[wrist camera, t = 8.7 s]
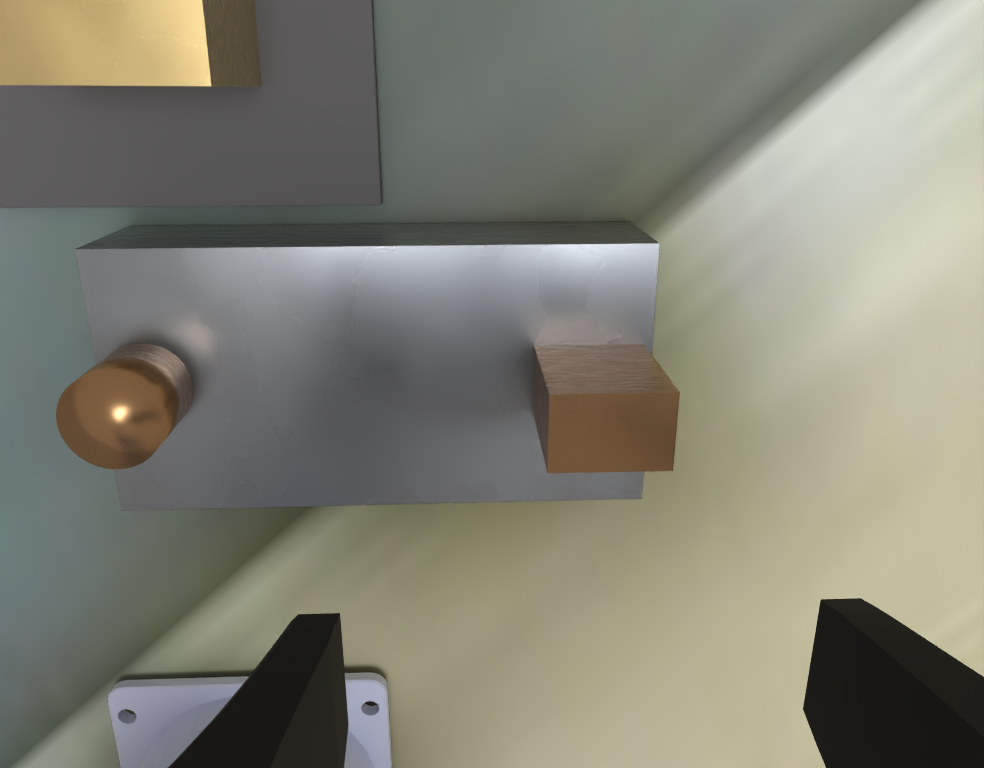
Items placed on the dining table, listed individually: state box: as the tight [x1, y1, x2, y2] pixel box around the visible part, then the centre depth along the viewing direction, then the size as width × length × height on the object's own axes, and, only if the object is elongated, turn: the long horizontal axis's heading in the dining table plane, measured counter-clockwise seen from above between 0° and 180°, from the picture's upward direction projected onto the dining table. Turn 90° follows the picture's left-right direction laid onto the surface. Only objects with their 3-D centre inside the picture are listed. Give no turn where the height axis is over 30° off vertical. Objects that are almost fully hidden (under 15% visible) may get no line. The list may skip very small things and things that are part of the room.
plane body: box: [56, 222, 679, 511], centre depth 18 cm, size 6×12×6 cm, turn 90°
